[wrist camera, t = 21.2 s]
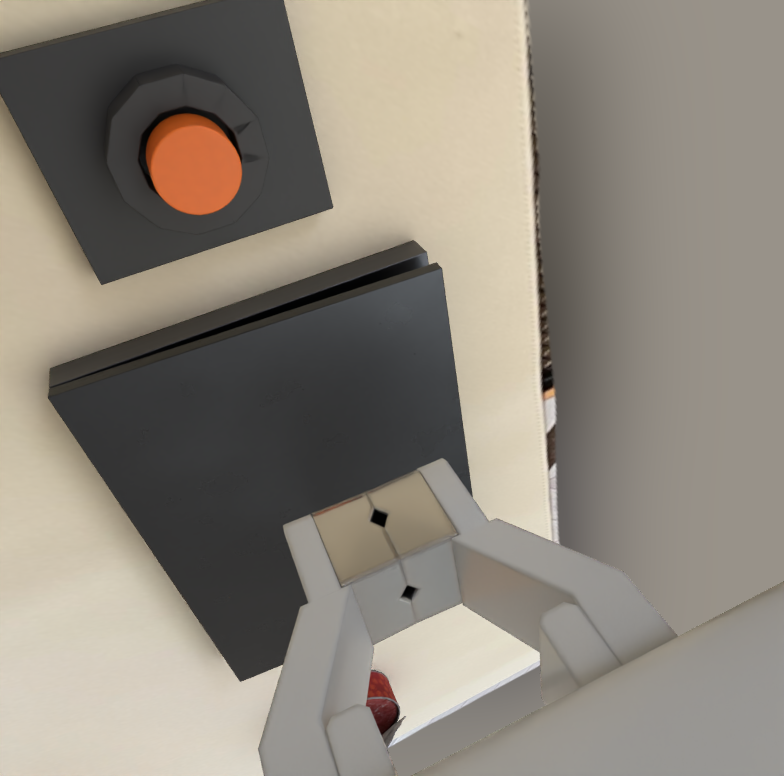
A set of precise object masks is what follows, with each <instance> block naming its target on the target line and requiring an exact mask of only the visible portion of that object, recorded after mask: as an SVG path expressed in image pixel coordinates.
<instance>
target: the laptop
mask: <svg viewBox="0 0 784 776" xmlns="http://www.w3.org/2000/svg"><path fill="white" fill-rule="evenodd" d="M427 265H429V263H428V256H427V252H426V251H425V250H424V249H423V248H422V247H421V246H420V245H419V244H418V243H417V242H415V241H411V242H408V243H406V244H403V245H400V246H397V247H394V248H391V249H389V250H386V251H383V252H380V253H377V254H374V255H371V256H369V257H366V258H363V259H360V260H357V261H354V262H352V263H349V264H346V265H343V266H340V267H337V268H335V269H332V270H329V271H326V272H323V273H320V274H317V275H315V276H312V277H309V278H306V279H303V280H300V281H298V282H295V283H292V284H289V285H286V286H283V287H281V288H278V289H275V290H272V291H269V292H266V293H263V294H261V295H258V296H255V297H252V298H249V299H246V300H244V301H241V302H238V303H235V304H232V305H229V306H227V307H224V308H221V309H218V310H215V311H212V312H210V313H207V314H204V315H201V316H198V317H195V318H192V319H190V320H187V321H184V322H181V323H178V324H175V325H173V326H170V327H167V328H164V329H161V330H158V331H156V332H153V333H150V334H147V335H144V336H141V337H138V338H136V339H133V340H130V341H127V342H124V343H121V344H119V345H116V346H113V347H110V348H107V349H104V350H102V351H99V352H96V353H93V354H90V355H87V356H85V357H82V358H79V359H76V360H73V361H70V362H67V363H65V364H62V365H59V366H56V367H53V368H51V369H50V381H49V388H53V387H56V386H59V385H62V384H65V383H68V382H71V381H74V380H77V379H81V378H84V377H87V376H90V375H93V374H96V373H99V372H102V371H105V370H108V369H111V368H114V367H117V366H120V365H123V364H127V363H130V362H133V361H136V360H139V359H142V358H145V357H148V356H151V355H154V354H157V353H160V352H163V351H166V350H169V349H173V348H176V347H179V346H182V345H185V344H188V343H191V342H194V341H197V340H200V339H203V338H206V337H209V336H212V335H215V334H219V333H222V332H225V331H228V330H231V329H234V328H237V327H240V326H243V325H246V324H249V323H252V322H255V321H258V320H261V319H265V318H268V317H271V316H274V315H277V314H280V313H283V312H286V311H289V310H292V309H295V308H298V307H301V306H304V305H307V304H311V303H314V302H317V301H320V300H323V299H326V298H329V297H332V296H335V295H338V294H341V293H344V292H347V291H350V290H353V289H357V288H360V287H363V286H366V285H369V284H372V283H375V282H378V281H381V280H384V279H387V278H390V277H393V276H396V275H399V274H403V273H406V272H409V271H412V270H415V269H418V268H421V267H424V266H427Z"/></svg>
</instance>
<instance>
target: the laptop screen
mask: <svg viewBox="0 0 784 776" xmlns="http://www.w3.org/2000/svg"><path fill="white" fill-rule="evenodd" d="M48 399H49V400H50V402H51V403H52V405H53V406H54V408H55V409H56V411H57V412H58V413H59V415H60V416H61V418H62V419H63V421H64V422H65V424H66V425H67V427H68V428H69V430H70V431H71V433H72V434H73V436H74V437H75V439H76V440H77V442H78V443H79V444H80V446H81V447H82V449H83V450H84V452H85V453H86V455H87V456H88V458H89V459H90V461H91V462H92V464H93V465H94V467H95V468H96V470H97V471H98V473H99V474H100V475H101V477H102V478H103V480H104V481H105V483H106V484H107V486H108V487H109V489H110V490H111V492H112V493H113V495H114V496H115V498H116V499H117V501H118V502H119V504H120V505H121V506H122V508H123V509H124V511H125V512H126V514H127V515H128V517H129V518H130V520H131V521H132V523H133V524H134V526H135V527H136V529H137V530H138V532H139V533H140V535H141V536H142V538H143V539H144V540H145V542H146V543H147V545H148V546H149V548H150V549H151V551H152V552H153V554H154V555H155V557H156V558H157V560H158V561H159V563H160V564H161V566H162V567H163V569H164V570H165V571H166V573H167V574H168V576H169V577H170V579H171V580H172V582H173V583H174V585H175V586H176V588H177V589H178V591H179V592H180V594H181V595H182V597H183V598H184V600H185V601H186V602H187V604H188V605H189V607H190V608H191V610H192V611H193V613H194V614H195V616H196V617H197V619H198V620H199V622H200V623H201V625H202V626H203V628H204V629H205V631H206V632H207V634H208V635H209V636H210V638H211V639H212V641H213V642H214V644H215V645H216V647H217V648H218V650H219V651H220V653H221V654H222V656H223V657H224V659H225V660H226V662H227V663H228V665H229V666H230V667H231V669H232V670H233V672H234V673H235V675H236V676H237V678H238V679H239V681H240V682H241V681H244V680H246V679H249V678H251V677H254V676H256V675H258V674H261V673H263V672H266V671H268V670H271V669H273V668H276V667H278V666H280V665H283V663H284V660H285V657H286V653H287V650H288V647H289V643H290V640H291V636H292V633H293V630H294V626H295V623H296V620H297V616H298V613H299V609H300V607H301V606H303V605H305V604H307V603H308V600H307V597H306V594H305V592H304V589H303V586H302V583H301V580H300V577H299V574H298V571H297V568H296V566H295V563H294V560H293V557H292V554H291V551H290V548H289V545H288V542H287V540H286V537H285V534H284V528H283V525H284V524H287V523H289V522H292V521H294V520H297V519H299V518H302V517H304V516H307V515H309V514H311V516H312V513H313V512H316V511H318V510H321V509H323V508H326V507H328V506H331V505H333V504H336V503H338V502H341V501H344V500H346V499H349V498H351V497H354V496H356V495H359V494H361V493H364V491H366V490H369V489H371V488H373V487H376V486H378V485H380V484H382V483H385V482H387V481H389V480H392V479H394V478H396V477H398V476H401V475H403V474H405V473H408V472H410V471H412V470H414V469H415V470H417V469H418V468H420V467H422V466H425V465H427V464H429V463H432V462H434V461H436V460H439V459H441V458H443V459H445V460H446V461H447V462H448V463H449V465H450V466H451V467H452V469H453V470H454V472H455V473H456V475H457V476H458V478H459V479H460V480H461V482H462V483H463V485H464V486H465V488H466V489H467V490H468V492H469V493H470V495H471V496H472V488H471V481H470V473H469V466H468V458H467V451H466V444H465V436H464V429H463V421H462V414H461V407H460V399H459V392H458V384H457V377H456V369H455V362H454V355H453V347H452V340H451V332H450V325H449V317H448V310H447V303H446V295H445V288H444V280H443V273H442V268H441V267H440V266H439V265H438V263H433V264H430V265H427V266H424V267H421V268H418V269H415V270H412V271H409V272H406V273H403V274H399V275H396V276H393V277H390V278H387V279H384V280H381V281H378V282H375V283H372V284H369V285H366V286H363V287H360V288H357V289H353V290H350V291H347V292H344V293H341V294H338V295H335V296H332V297H329V298H326V299H323V300H320V301H317V302H314V303H311V304H307V305H304V306H301V307H298V308H295V309H292V310H289V311H286V312H283V313H280V314H277V315H274V316H271V317H268V318H265V319H261V320H258V321H255V322H252V323H249V324H246V325H243V326H240V327H237V328H234V329H231V330H228V331H225V332H222V333H219V334H215V335H212V336H209V337H206V338H203V339H200V340H197V341H194V342H191V343H188V344H185V345H182V346H179V347H176V348H173V349H169V350H166V351H163V352H160V353H157V354H154V355H151V356H148V357H145V358H142V359H139V360H136V361H133V362H130V363H127V364H123V365H120V366H117V367H114V368H111V369H108V370H105V371H102V372H99V373H96V374H93V375H90V376H87V377H84V378H81V379H77V380H74V381H71V382H68V383H65V384H62V385H59V386H56V387H53V388H50V389H49V393H48ZM472 498H473V496H472ZM312 518H313V516H312ZM313 520H314V519H313ZM315 525H316V524H315Z"/></svg>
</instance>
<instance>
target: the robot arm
mask: <svg viewBox="0 0 784 776" xmlns="http://www.w3.org/2000/svg"><path fill="white" fill-rule="evenodd" d="M312 516H313V518H312ZM312 516H311V514H309V515H307V516H304V517H302V518H299V519H297V520H294V521H292V522H289V523H287V524H284V525H283V528H284V534H285V537H286V540H287V542H288V545H289V548H290V551H291V554H292V557H293V560H294V563H295V566H296V568H297V571H298V574H299V577H300V580H301V583H302V586H303V589H304V592H305V594H306V597H307V600H308V603H307V604H305V605H303V606H301V607H300V609H299V613H298V616H297V620H296V623H295V626H294V630H293V633H292V636H291V640H290V643H289V647H288V650H287V653H286V657H285V660H284V663H283V667H282V670H281V674H280V677H279V680H278V684H277V687H276V690H275V694H274V697H273V701H272V704H271V707H270V711H269V714H268V717H267V721H266V724H265V728H264V731H263V734H262V738H261V741H260V744H259V748H258V751H259V755H260V760H261V764H262V769H263V773H264V776H398V774H397V772H396V769H395V767H394V764H393V762H392V760H391V757H390V755H389V753H388V750H387V748H386V745H385V743H384V740H383V738H382V736H381V733H380V731H379V728H378V726H377V724H376V721H375V719H374V716H373V714H372V712H371V709H370V707H367V706H366V701H367V694H368V687H369V680H370V673H371V666H372V659H373V652H374V647H373V645H374V644H376V643H378V642H380V641H382V640H384V639H386V638H388V637H390V636H392V635H394V634H396V633H398V632H400V631H402V630H404V629H406V628H408V627H410V626H412V625H414V624H416V623H417V622H420V621H422V620H425V619H427V618H429V617H431V616H434V615H436V614H438V613H440V612H443V611H445V610H447V609H450V608H452V607H454V606H456V605H459V604H461V603H463V605H464V606H465V607H467V608H469V609H470V610H472V611H474V612H475V613H477V614H478V615H480V616H482V617H483V618H485V619H486V620H488V621H490V622H491V623H493V624H495V625H496V626H498V627H499V628H501V629H503V630H504V631H506V632H508V633H509V634H511V635H512V636H514V637H516V638H517V639H519V640H520V641H522V642H524V643H525V644H527V645H529V646H530V647H532V648H533V649H535V650H537V651H538V652H540V673H541V698H542V700H543V702H544V703H545V705H546V706H544V707H542V708H540V709H538V710H537V711H535V712H533V713H531V714H529V715H527V716H525V717H523V718H521V719H519V720H517V721H515V722H514V723H511V724H510V725H508V726H506V727H504V728H502V729H500V730H498V731H496V732H494V733H492V734H490V735H488V736H487V737H485V738H483V739H481V740H479V741H477V742H475V743H473V744H471V745H469V746H467V747H465V748H464V749H462V750H460V751H458V752H456V753H454V754H452V755H450V756H448V757H446V758H445V759H442V760H441V761H439V762H437V763H435V764H433V765H431V766H429V767H427V768H425V769H423V770H421V771H420V772H418V773H416V774H414V775H412V776H784V581H783V582H781V583H780V584H778V585H776V586H774V587H772V588H770V589H768V590H766V591H764V592H762V593H760V594H759V595H757V596H755V597H753V598H751V599H749V600H747V601H745V602H743V603H741V604H739V605H737V606H736V607H734V608H732V609H730V610H728V611H726V612H724V613H722V614H720V615H718V616H716V617H715V618H713V619H711V620H709V621H707V622H705V623H703V624H701V625H699V626H697V627H696V628H693V629H692V630H690V631H688V632H686V633H684V634H682V635H680V636H677V634H676V633H675V632H674V631H673V629H672V628H671V627H670V626H669V625H668V624H667V622H666V621H665V620H664V619H663V618H662V616H661V615H660V614H659V613H658V612H657V610H656V609H655V608H654V607H653V606H652V605H651V603H650V602H649V601H648V600H647V599H646V597H645V596H644V595H643V594H642V593H641V591H639V589H638V588H637V587H636V586H635V584H634V583H633V582H632V581H631V580H630V578H629V577H628V576H627V575H626V574H625V573H624V571H621V570H619V569H617V568H614V567H612V566H610V565H607V564H605V563H602V562H600V561H598V560H595V559H593V558H591V557H588V556H586V555H583V554H581V553H578V552H576V551H574V550H571V549H569V548H567V547H564V546H562V545H559V544H557V543H555V542H552V541H550V540H548V539H545V538H543V537H540V536H538V535H536V534H533V533H531V532H528V531H526V530H524V529H521V528H519V527H516V526H514V525H512V524H509V523H507V522H504V521H502V520H500V519H497V518H496V519H494V520H491V521H488V519H487V518H486V516H485V515H484V513H483V512H482V511H481V509H480V508H479V506H478V505H477V503H476V502H475V500H474V499H473V498H472V496H471V495H470V493H469V492H468V490H467V489H466V488H465V486H464V485H463V483H462V482H461V480H460V479H459V478H458V476H457V475H456V473H455V472H454V470H453V469H452V467H451V466H450V465H449V463H448V462H447V461H446V460H445V459H443V458H441V459H439V460H436V461H434V462H432V463H429V464H427V465H425V466H422V467H420V468H418V469H417V470H415V469H414V470H412V471H410V472H408V473H405V474H403V475H401V476H398V477H396V478H394V479H392V480H389V481H387V482H385V483H382V484H380V485H378V486H376V487H373V488H371V489H369V490H366V491H364V493H361V494H359V495H356V496H354V497H351V498H349V499H346V500H344V501H341V502H338V503H336V504H333V505H331V506H328V507H326V508H323V509H321V510H318V511H316V512H313V513H312ZM313 519H314V520H313ZM315 524H316V525H315Z"/></svg>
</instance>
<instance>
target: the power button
mask: <svg viewBox="0 0 784 776" xmlns="http://www.w3.org/2000/svg"><path fill="white" fill-rule="evenodd" d="M146 162H147V166H148V169H149V172H150V176H151V179H152V182H153V185H154V187H155V189H156V191H157V192H158V194H159V195H160V197H161V198H162V199H163V200H164V201H165V202H166V203H167V204H168V205H170V206H171V207H173V208H175V209H176V210H178V211H181V212H183V213H187V214H192V215H205V214H210V213H214V212H216V211H218V210H220V209H222V208H224V207H225V206H226V205H228V204H229V203H230V202H231V201H232V199H233V198H234V197H235V195H236V194H237V192H238V190H239V187H240V184H241V179H242V165H241V161H240V157H239V155H238V153H237V151H236V149H235V147H234V146H233V144H232V143H231V142H230V140H229V139H228V137H227V136H226V135H225V133H224V132H223V130H222V129H221V128H220V127H219V126H218V125H216V124H215V123H214V122H213V121H211V120H209V119H208V118H205V117H203V116H200V115H197V114H191V113H182V114H176V115H173V116H170V117H168V118H166V119H164V120H163V121H161V122H160V123H159V124H158V125H157V126H156V127H155V128H154V129H153V131H152V132H151V134H150V136H149V138H148V141H147V145H146Z"/></svg>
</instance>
